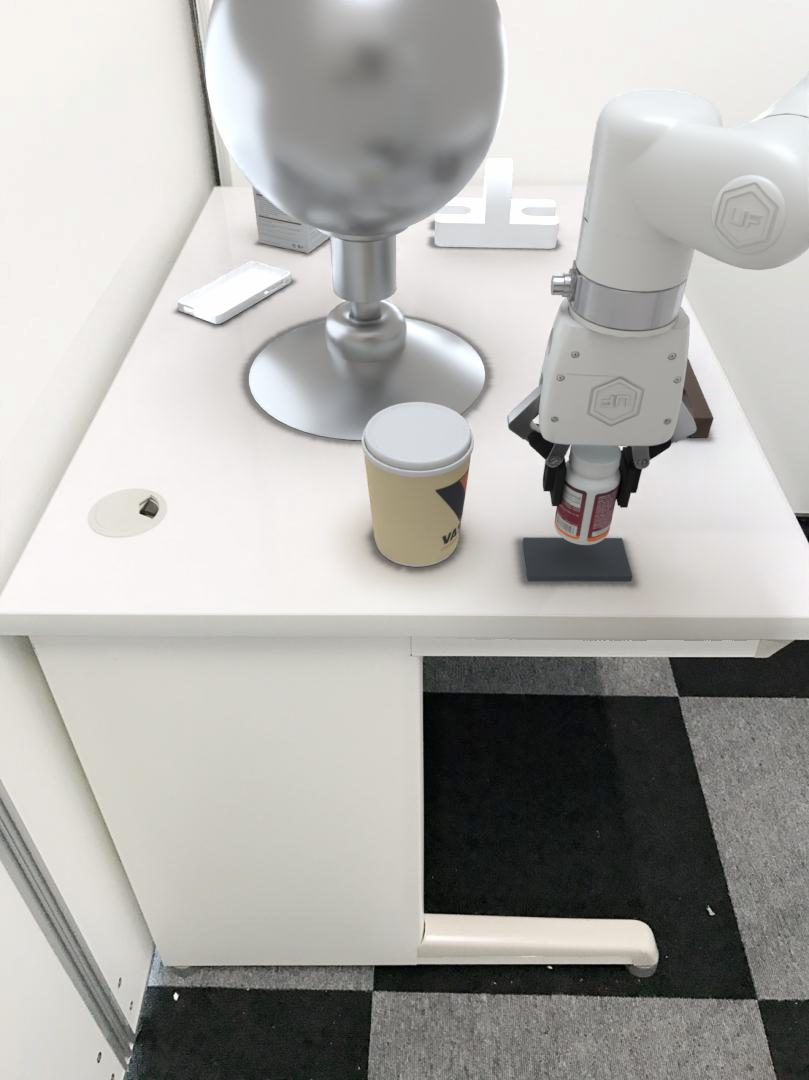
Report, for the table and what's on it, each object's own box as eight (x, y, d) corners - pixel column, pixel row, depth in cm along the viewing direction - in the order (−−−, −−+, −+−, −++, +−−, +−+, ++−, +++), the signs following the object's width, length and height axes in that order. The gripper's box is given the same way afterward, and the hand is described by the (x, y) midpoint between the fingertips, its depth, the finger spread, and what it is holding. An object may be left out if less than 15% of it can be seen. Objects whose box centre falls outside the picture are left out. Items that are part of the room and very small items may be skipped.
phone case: (253, 268, 120) (176, 310, 111) (252, 259, 119) (174, 300, 110) (293, 281, 117) (218, 325, 108) (292, 272, 116) (216, 315, 107)
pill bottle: (606, 512, 75) (623, 433, 69) (610, 548, 71) (629, 469, 66) (552, 508, 75) (564, 430, 70) (554, 544, 72) (567, 465, 66)
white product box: (289, 221, 132) (280, 118, 122) (339, 232, 129) (334, 127, 119) (256, 243, 126) (243, 136, 116) (308, 254, 123) (299, 146, 113)
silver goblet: (533, 371, 100) (590, -110, 69) (359, 473, 85) (334, -77, 55) (373, 294, 114) (362, -132, 84) (201, 370, 100) (113, -111, 69)
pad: (621, 542, 78) (622, 537, 77) (631, 581, 74) (632, 576, 74) (522, 542, 78) (523, 537, 77) (528, 580, 74) (528, 575, 74)
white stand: (435, 220, 132) (437, 148, 125) (551, 222, 132) (560, 150, 125) (434, 246, 125) (436, 171, 118) (556, 248, 125) (566, 173, 118)
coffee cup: (461, 579, 74) (467, 470, 66) (356, 567, 75) (350, 458, 67) (472, 511, 81) (480, 404, 73) (376, 501, 82) (373, 395, 74)
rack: (671, 348, 104) (676, 329, 102) (708, 437, 90) (713, 417, 88) (587, 347, 104) (590, 328, 102) (611, 436, 90) (615, 416, 88)
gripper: (506, 317, 56) (487, 524, 68) (765, 321, 56) (699, 528, 68) (500, 267, 61) (483, 467, 74) (736, 270, 61) (679, 470, 74)
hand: (587, 494), depth 71 cm, fingers closed on pill bottle, 4 cm apart
